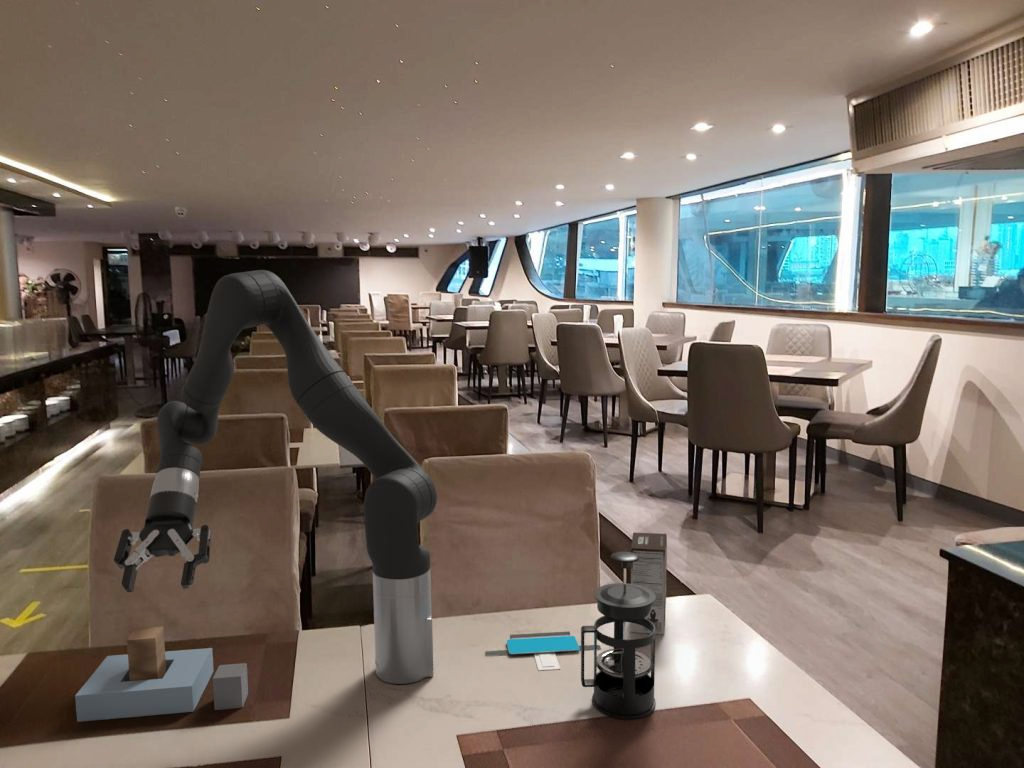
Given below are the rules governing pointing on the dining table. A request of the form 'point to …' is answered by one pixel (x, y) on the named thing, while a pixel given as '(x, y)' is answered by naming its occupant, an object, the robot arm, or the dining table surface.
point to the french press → (622, 649)
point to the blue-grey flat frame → (145, 687)
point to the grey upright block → (230, 686)
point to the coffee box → (651, 576)
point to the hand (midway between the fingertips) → (156, 588)
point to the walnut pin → (146, 654)
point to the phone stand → (542, 647)
